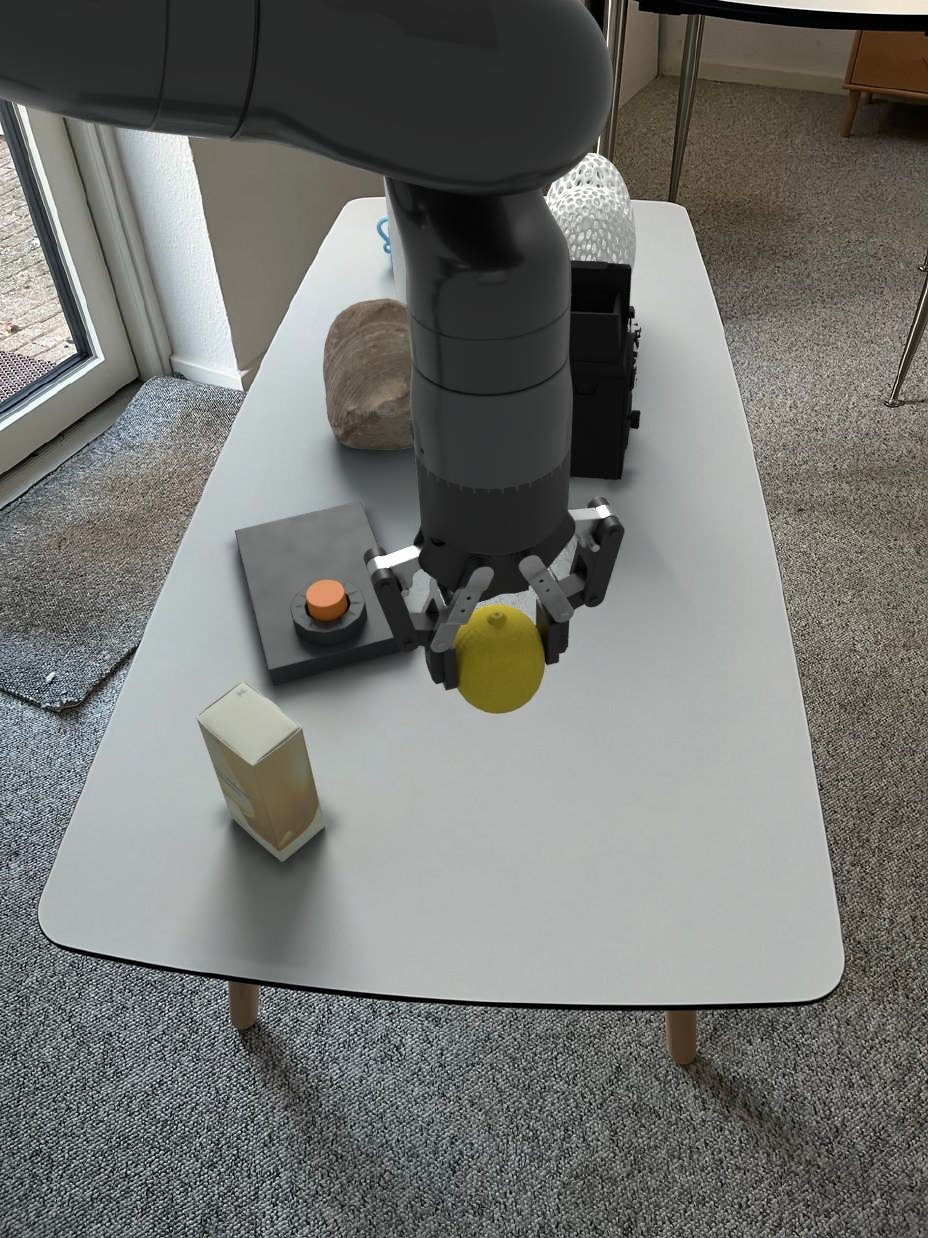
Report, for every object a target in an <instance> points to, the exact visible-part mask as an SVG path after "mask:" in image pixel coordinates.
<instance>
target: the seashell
mask: <svg viewBox="0 0 928 1238" xmlns="http://www.w3.org/2000/svg"><path fill="white" fill-rule="evenodd" d="M323 347H324V348H323V362H322V376H323V383H324V388H325V389H324V390H325V405H326V415H327V420H328V423H329V426H330V428H331V431H332V433H333V435H334V437H335V439H336V441H337V442H338V443H341V444H343V445H345V446H346V447H348V448H351V449H356V450H375V451H378V450H379V451H395V450H405V449H411V448H414V443H413V439H412V436H411V435H410V423H409V420H410V416H411V409H410V382H411V368H412V361H411V345H410V334H409V322H408V311H407V304H404V303H402V302H400V301H397V299H394V298H388V297H387V298H378V299H377V298H376V299H370V300H363V301H359V302H356V303H353V304H351V305H350V306H348V307H346V308H345V309H342V311H340V312H339V313H338V314H337V315H336V317H335V319H334V320H333V321H332V323H331V325H330V326H329V328H328V333H327V336H326V338H325V342H324V346H323Z"/></svg>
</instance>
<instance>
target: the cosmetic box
mask: <svg viewBox="0 0 928 1238" xmlns="http://www.w3.org/2000/svg"><path fill="white" fill-rule="evenodd" d="M195 719H196V721H197V724H198V727H199V730H200V732H201V735H202V738H203V741H204V743H205V747H206V749H207V752H208V755H209V758H210V761H211V764H212V767H213V769H214V772H215V775H216V778H217V780H218V783H219V786H220V790H221V793H222V796H223V798H224V801H225V804H226V807H227V810H228V812H229V815H230V817H231V818H232V819H233V820H234V821H235V822H236V823H237V824H238V825H239V826H240V827H241V828H242V829H243V830H245V832H247V834H248V835H249V836H250V837H252V838H253V839H254V840H255V841H256V843H257V842H258V844H260V845H261V846H262V847H263V848H264V849H265V850H266V851H268V853H270V854H271V855H273V857H275V858H276V859H277V860H278V861H280V863H284V862H285V861H286V860H287V859H288V858H290V857H291V856H292V855H293V854H295V853H296V852H297V851H299V849H301V848H302V847H303V846H304V845H306V844H307V843H308V842H309V841H310V840H311V839H312V838H313V837H314V836H316V835H317V834H318V833H319V832H320V831H321V830H322V829H324V827H325V826H326V824H325V820H324V816H323V811H322V806H321V803H320V799H319V795H318V790H317V786H316V781H315V777H314V774H313V773H314V772H313V769H312V764H311V761H310V755H309V752H308V748H307V747H308V746H307V743H306V738H305V734H304V729H303V727H302V725H301V724H300V723H299V722H297V721H296V720H295V719H293V718H292V716H290V715H289V714H287V713H286V712H285V711H284V710H282V709H281V708H280V707H279V706H278V705H277V704H275V703H274V702H273V701H271V699H269V698H267V697H266V696H265V695H263V694H262V693H261V692H260V691H259V690H257V689H256V688H255V687H253V685H251V684H250V683H248V682H247V681H246V680H242V681H240V682H239V683H237V684H236V685H235V686H233V687H232V688H231V689H230V690H228V691H226V692H225V693H224V694H223V695H221V696H220V697H219V698H217V699H216V700H214V701H213V702H212V703H211V704H209V705H207V707H205V708H204V709H203V710H202V711H201V712H199V713H198V714H197V715H195Z"/></svg>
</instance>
